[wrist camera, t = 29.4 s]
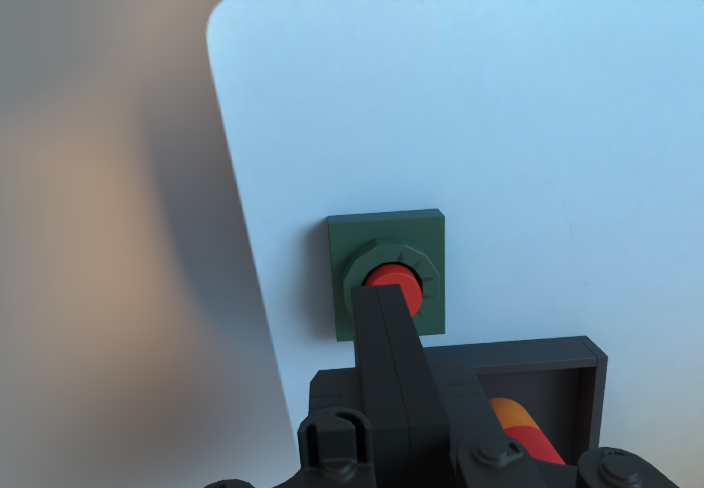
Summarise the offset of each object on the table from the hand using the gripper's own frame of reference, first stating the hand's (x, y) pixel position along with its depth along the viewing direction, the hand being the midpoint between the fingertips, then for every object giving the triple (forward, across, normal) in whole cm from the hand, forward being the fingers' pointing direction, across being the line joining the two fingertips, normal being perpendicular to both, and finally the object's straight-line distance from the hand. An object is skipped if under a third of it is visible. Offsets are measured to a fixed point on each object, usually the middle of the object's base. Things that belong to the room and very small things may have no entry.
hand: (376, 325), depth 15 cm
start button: (+18, +2, -6) cm, 19 cm away
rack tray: (+21, +11, -20) cm, 31 cm away
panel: (+21, +2, -6) cm, 22 cm away
